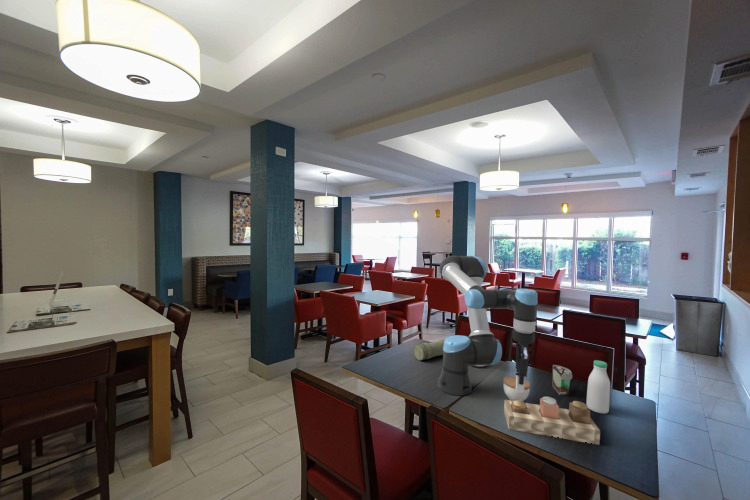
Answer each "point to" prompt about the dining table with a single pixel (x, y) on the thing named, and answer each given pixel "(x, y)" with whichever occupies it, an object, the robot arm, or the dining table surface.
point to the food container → (561, 379)
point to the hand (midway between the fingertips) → (519, 391)
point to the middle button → (549, 407)
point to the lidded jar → (511, 389)
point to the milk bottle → (598, 388)
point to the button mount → (551, 424)
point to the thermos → (429, 350)
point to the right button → (579, 412)
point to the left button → (519, 407)
